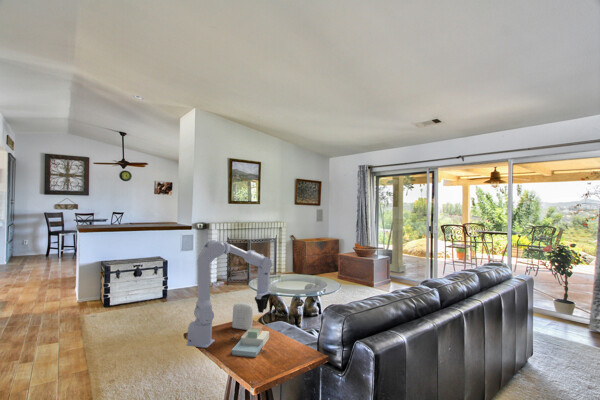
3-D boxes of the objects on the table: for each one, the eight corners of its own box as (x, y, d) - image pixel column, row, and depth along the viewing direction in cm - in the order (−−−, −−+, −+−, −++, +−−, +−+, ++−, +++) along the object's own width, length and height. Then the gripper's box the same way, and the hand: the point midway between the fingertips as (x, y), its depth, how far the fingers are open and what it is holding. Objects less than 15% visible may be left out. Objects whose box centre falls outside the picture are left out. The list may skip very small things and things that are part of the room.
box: (231, 354, 125) (231, 349, 125) (240, 344, 135) (240, 340, 135) (255, 357, 123) (255, 352, 123) (262, 347, 133) (263, 342, 133)
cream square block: (240, 344, 135) (240, 337, 135) (248, 335, 145) (248, 329, 145) (263, 346, 133) (263, 339, 134) (269, 337, 143) (269, 331, 143)
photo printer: (253, 328, 155) (254, 302, 156) (250, 331, 151) (251, 304, 152) (234, 325, 158) (235, 300, 159) (230, 328, 154) (231, 302, 155)
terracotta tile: (251, 333, 140) (251, 328, 140) (253, 330, 144) (254, 325, 144) (259, 334, 139) (260, 328, 139) (262, 331, 143) (262, 325, 143)
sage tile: (247, 337, 135) (248, 331, 135) (250, 334, 139) (251, 328, 139) (256, 338, 134) (257, 332, 135) (259, 335, 138) (259, 329, 139)
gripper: (267, 285, 142) (266, 316, 142) (275, 279, 157) (274, 307, 156) (252, 284, 144) (251, 314, 143) (261, 278, 158) (260, 306, 157)
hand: (262, 310), depth 150 cm, fingers open, 5 cm apart
